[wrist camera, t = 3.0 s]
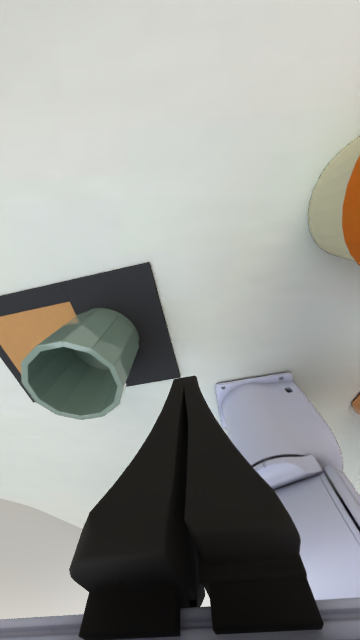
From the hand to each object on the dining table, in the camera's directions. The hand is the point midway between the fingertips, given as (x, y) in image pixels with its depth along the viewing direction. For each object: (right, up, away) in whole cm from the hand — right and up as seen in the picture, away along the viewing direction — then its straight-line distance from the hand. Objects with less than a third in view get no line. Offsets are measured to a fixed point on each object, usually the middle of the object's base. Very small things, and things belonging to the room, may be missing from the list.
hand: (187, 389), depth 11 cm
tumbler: (-9, +2, +9) cm, 13 cm away
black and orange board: (-12, +2, +10) cm, 15 cm away
